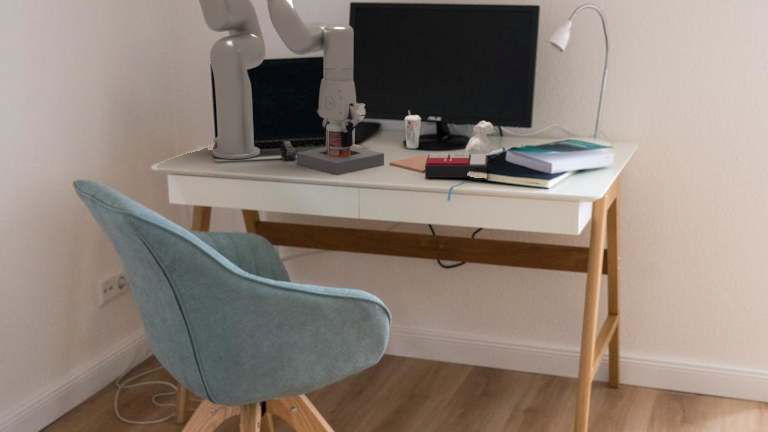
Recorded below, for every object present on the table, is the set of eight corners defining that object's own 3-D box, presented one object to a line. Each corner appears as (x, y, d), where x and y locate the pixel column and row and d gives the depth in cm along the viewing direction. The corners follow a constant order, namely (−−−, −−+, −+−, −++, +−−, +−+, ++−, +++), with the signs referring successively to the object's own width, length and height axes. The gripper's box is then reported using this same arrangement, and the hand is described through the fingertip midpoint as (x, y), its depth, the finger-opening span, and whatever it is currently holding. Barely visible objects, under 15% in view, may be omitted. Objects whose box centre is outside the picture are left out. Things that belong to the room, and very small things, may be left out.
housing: (296, 164, 250) (296, 152, 249) (343, 154, 261) (343, 143, 260) (336, 174, 239) (336, 163, 238) (384, 164, 250) (384, 153, 249)
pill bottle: (354, 158, 249) (354, 115, 246) (333, 161, 246) (334, 117, 242) (342, 153, 254) (342, 111, 250) (321, 156, 250) (321, 113, 247)
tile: (389, 164, 250) (389, 162, 249) (422, 157, 257) (422, 155, 257) (422, 172, 241) (422, 170, 241) (455, 165, 249) (455, 162, 249)
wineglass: (336, 147, 270) (336, 104, 267) (356, 143, 274) (355, 101, 271) (351, 151, 265) (350, 107, 262) (370, 147, 269) (370, 105, 266)
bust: (473, 172, 251) (500, 140, 247) (451, 153, 252) (478, 120, 247) (482, 161, 262) (509, 131, 258) (461, 143, 263) (487, 112, 258)
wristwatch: (282, 165, 256) (288, 153, 252) (278, 149, 258) (283, 138, 254) (293, 165, 257) (299, 153, 253) (288, 149, 259) (294, 138, 256)
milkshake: (416, 144, 273) (416, 109, 270) (422, 148, 268) (423, 113, 265) (401, 145, 271) (401, 110, 269) (407, 149, 267) (407, 113, 264)
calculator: (428, 151, 244) (487, 151, 242) (428, 168, 245) (487, 168, 244) (424, 162, 234) (487, 162, 232) (425, 179, 235) (487, 180, 233)
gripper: (305, 71, 247) (305, 140, 252) (349, 80, 235) (349, 152, 240) (327, 69, 252) (327, 136, 257) (372, 77, 240) (371, 148, 245)
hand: (338, 143), depth 249 cm, fingers closed on pill bottle, 6 cm apart
